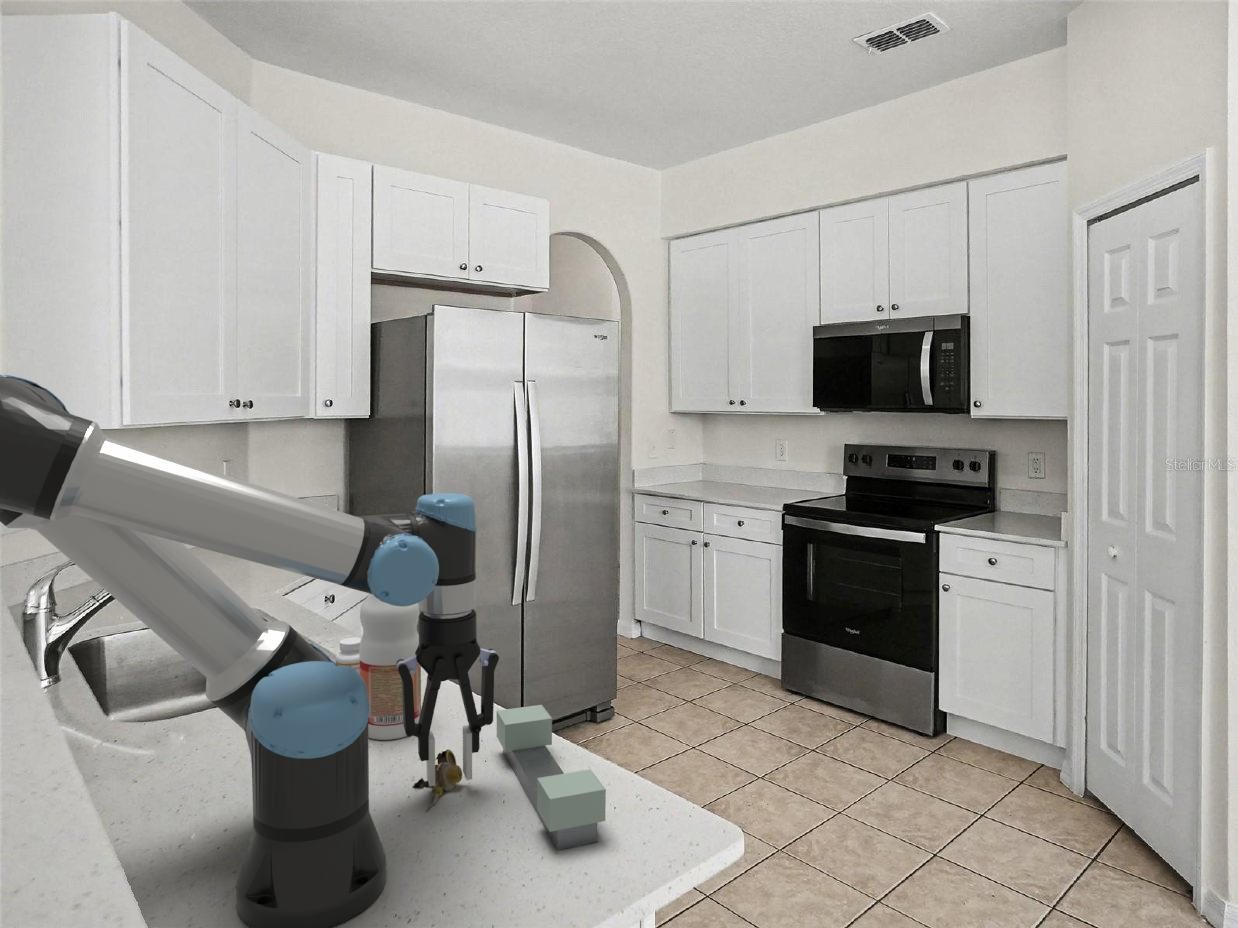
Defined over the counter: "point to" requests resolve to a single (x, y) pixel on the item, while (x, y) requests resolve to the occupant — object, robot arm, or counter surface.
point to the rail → (527, 770)
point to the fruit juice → (388, 664)
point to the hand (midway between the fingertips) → (449, 777)
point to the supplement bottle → (349, 653)
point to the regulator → (443, 775)
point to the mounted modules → (557, 795)
